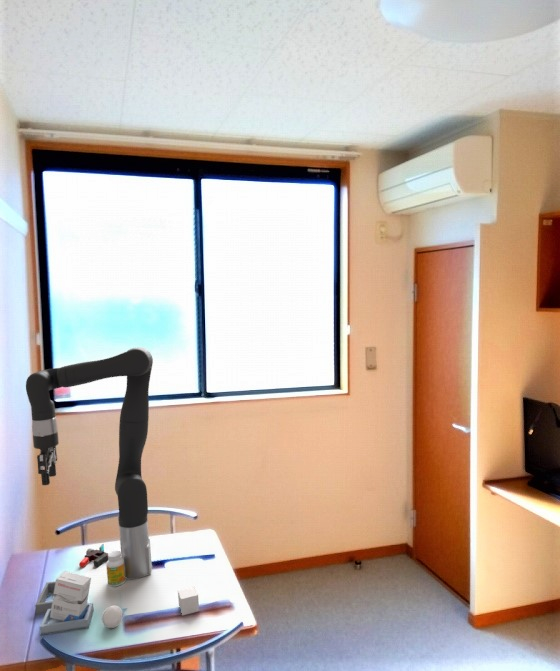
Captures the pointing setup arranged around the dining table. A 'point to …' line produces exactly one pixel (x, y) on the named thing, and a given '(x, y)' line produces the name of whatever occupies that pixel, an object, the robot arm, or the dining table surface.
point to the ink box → (70, 597)
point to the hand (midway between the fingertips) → (49, 480)
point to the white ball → (112, 616)
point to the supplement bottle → (115, 569)
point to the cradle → (41, 604)
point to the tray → (65, 622)
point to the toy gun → (95, 557)
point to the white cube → (188, 600)
